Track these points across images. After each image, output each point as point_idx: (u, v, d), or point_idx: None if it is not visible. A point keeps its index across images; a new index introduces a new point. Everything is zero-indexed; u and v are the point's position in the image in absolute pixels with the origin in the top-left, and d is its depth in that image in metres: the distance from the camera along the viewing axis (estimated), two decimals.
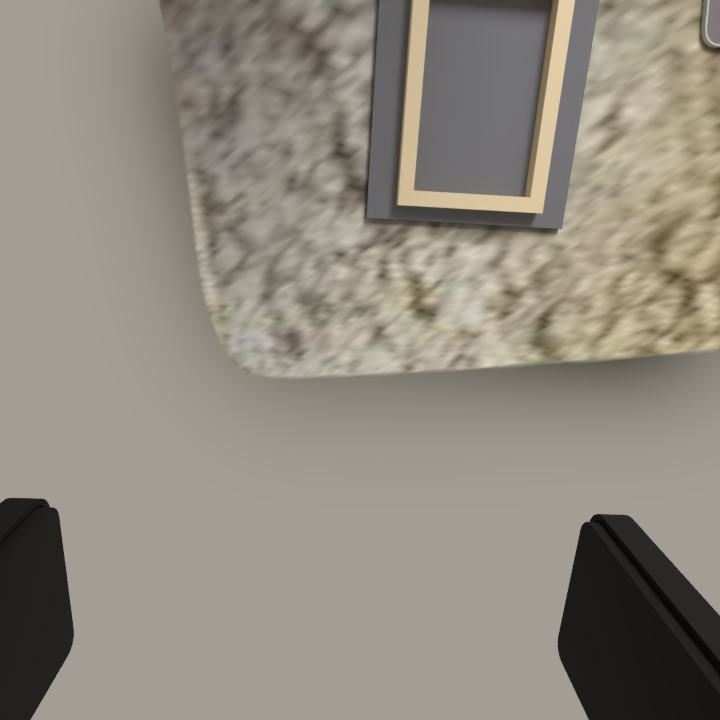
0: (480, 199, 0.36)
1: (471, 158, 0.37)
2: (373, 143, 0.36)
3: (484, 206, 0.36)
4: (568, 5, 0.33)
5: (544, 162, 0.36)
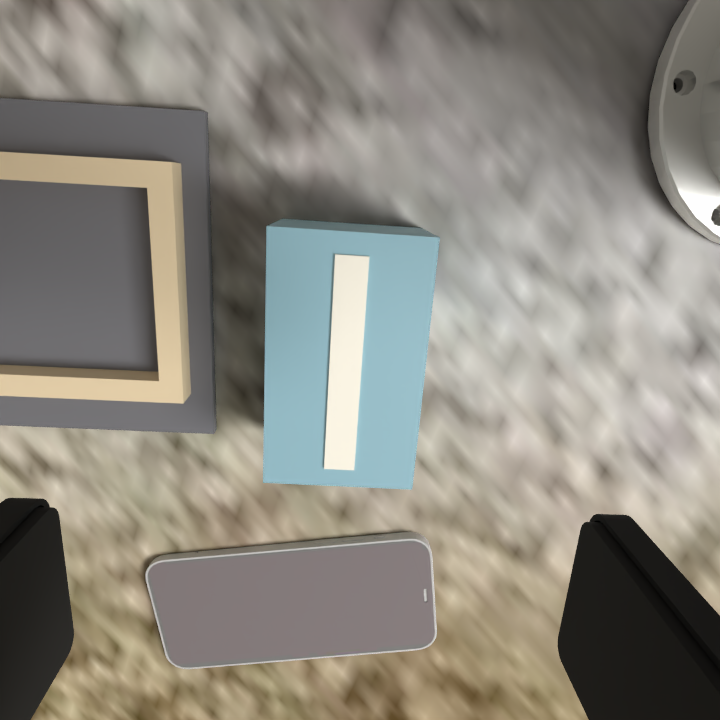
0: None
1: None
2: None
3: None
4: (145, 394, 0.23)
5: None
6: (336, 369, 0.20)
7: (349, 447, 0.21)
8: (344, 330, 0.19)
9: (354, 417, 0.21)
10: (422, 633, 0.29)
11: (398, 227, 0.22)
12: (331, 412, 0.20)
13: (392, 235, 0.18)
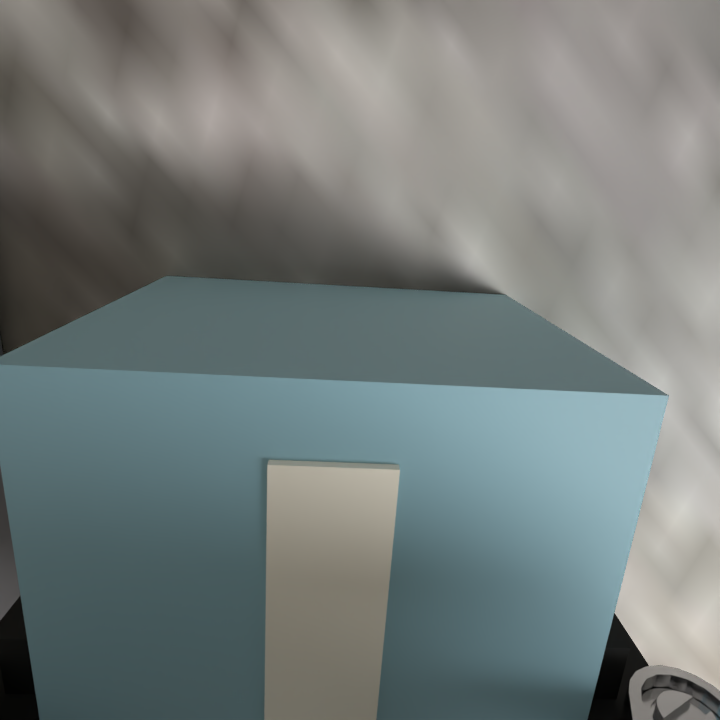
0: None
1: None
2: None
3: None
4: None
5: None
6: None
7: None
8: (309, 695, 0.06)
9: None
10: None
11: (457, 301, 0.09)
12: None
13: (489, 391, 0.05)
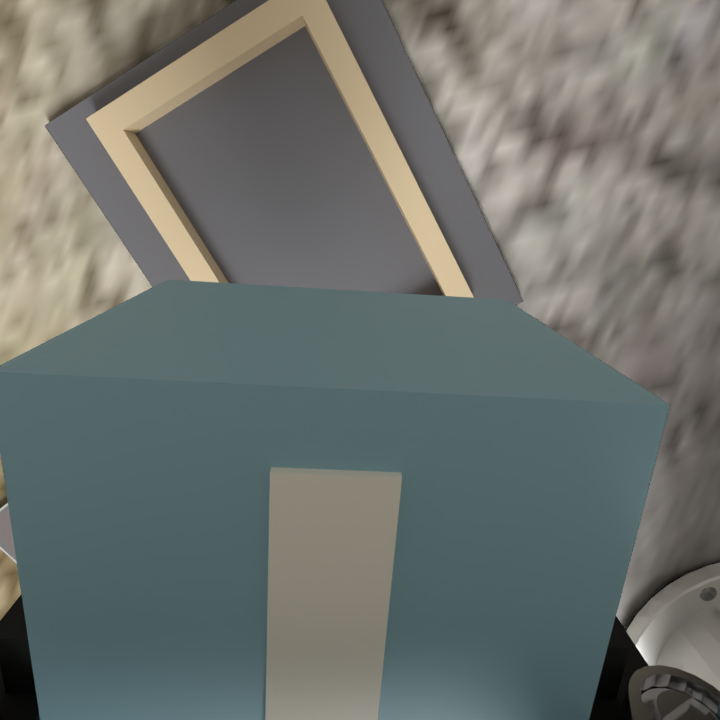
0: (192, 73, 0.20)
1: (251, 135, 0.22)
2: (404, 59, 0.21)
3: (178, 67, 0.20)
4: None
5: (144, 192, 0.21)
6: None
7: None
8: (310, 700, 0.06)
9: None
10: None
11: (459, 306, 0.09)
12: None
13: (492, 400, 0.05)
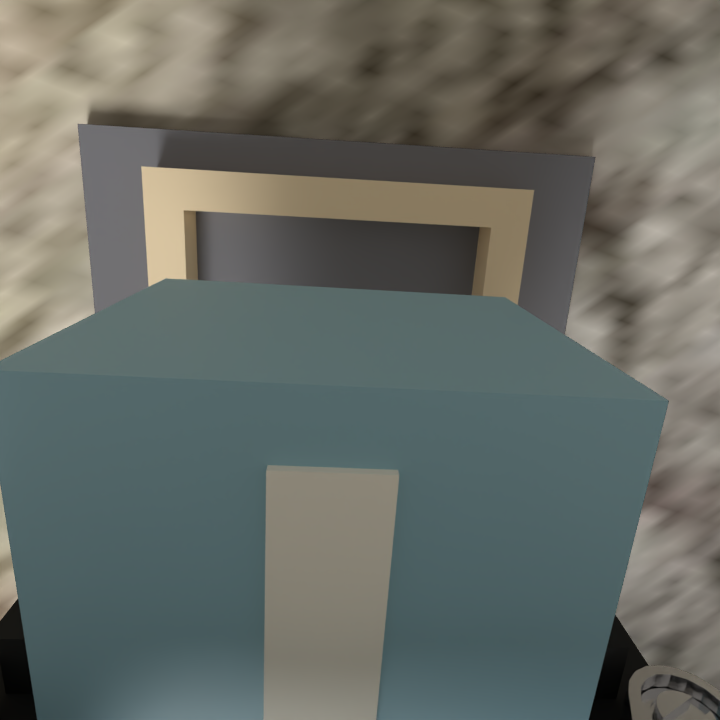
0: (317, 204, 0.14)
1: None
2: (560, 327, 0.16)
3: (305, 186, 0.14)
4: None
5: None
6: None
7: None
8: (308, 699, 0.06)
9: None
10: None
11: (457, 304, 0.09)
12: None
13: (489, 396, 0.05)
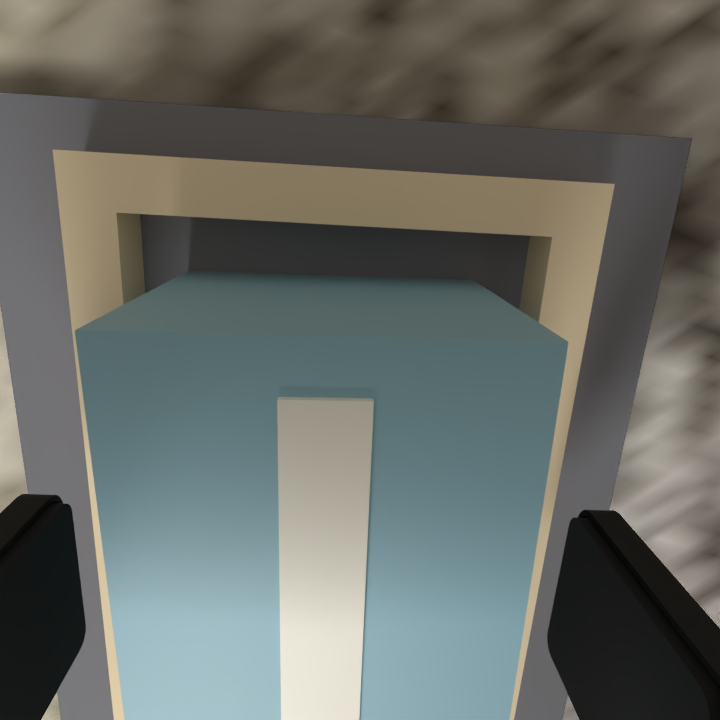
0: (307, 204, 0.10)
1: None
2: (633, 368, 0.12)
3: (289, 178, 0.10)
4: None
5: None
6: (297, 665, 0.08)
7: None
8: (313, 579, 0.07)
9: None
10: None
11: (430, 285, 0.10)
12: None
13: (436, 341, 0.07)
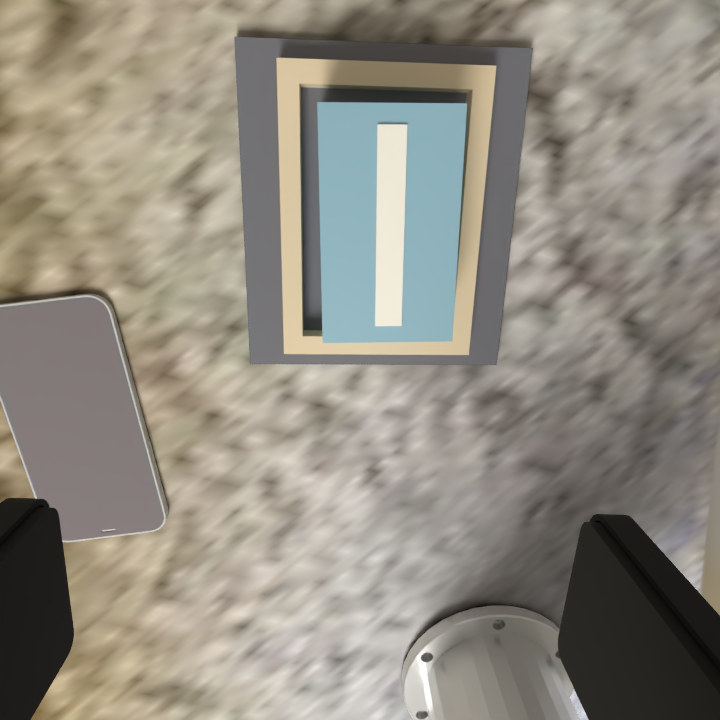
0: (374, 77, 0.24)
1: None
2: (516, 158, 0.27)
3: (367, 66, 0.24)
4: (290, 325, 0.28)
5: (287, 137, 0.25)
6: (382, 231, 0.23)
7: (396, 305, 0.24)
8: (387, 194, 0.22)
9: (399, 276, 0.24)
10: (66, 531, 0.33)
11: None
12: (379, 273, 0.23)
13: (426, 103, 0.21)
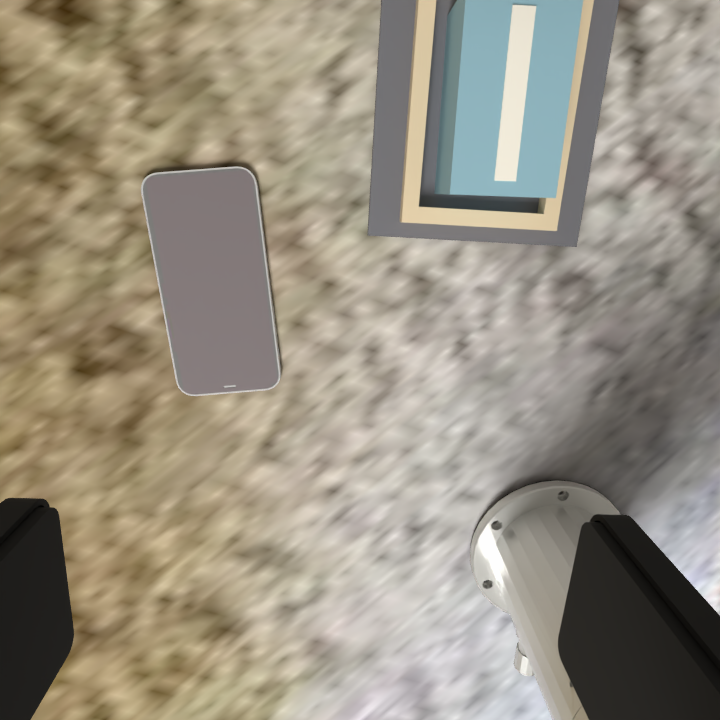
0: None
1: None
2: (606, 60, 0.32)
3: None
4: (409, 196, 0.33)
5: (423, 29, 0.30)
6: (508, 96, 0.28)
7: (512, 163, 0.29)
8: (515, 64, 0.28)
9: (517, 137, 0.29)
10: (193, 385, 0.38)
11: None
12: (501, 133, 0.29)
13: None
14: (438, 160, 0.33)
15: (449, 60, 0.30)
